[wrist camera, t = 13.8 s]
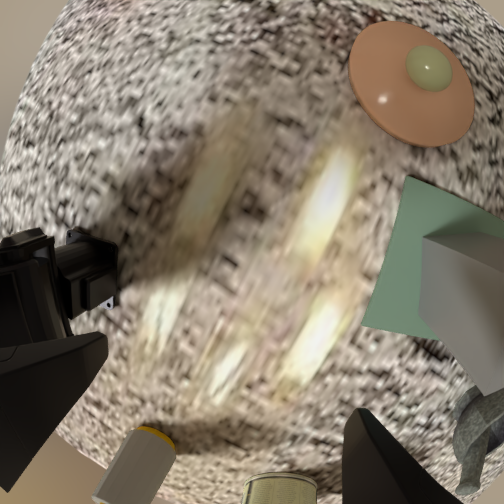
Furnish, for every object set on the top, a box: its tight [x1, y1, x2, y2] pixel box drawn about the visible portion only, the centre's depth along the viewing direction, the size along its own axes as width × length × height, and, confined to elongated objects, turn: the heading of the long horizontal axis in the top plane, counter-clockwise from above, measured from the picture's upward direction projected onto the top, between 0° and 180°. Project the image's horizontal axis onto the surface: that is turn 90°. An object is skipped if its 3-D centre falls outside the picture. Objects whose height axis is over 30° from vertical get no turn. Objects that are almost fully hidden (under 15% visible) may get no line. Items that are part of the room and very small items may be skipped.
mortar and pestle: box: [452, 385, 504, 495], centre depth 15 cm, size 11×9×12 cm
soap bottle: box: [92, 426, 176, 504], centre depth 19 cm, size 7×7×18 cm
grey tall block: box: [418, 232, 504, 396], centre depth 13 cm, size 6×6×11 cm
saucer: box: [348, 21, 475, 148], centre depth 13 cm, size 11×11×5 cm
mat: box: [361, 176, 504, 341], centre depth 18 cm, size 13×12×1 cm
